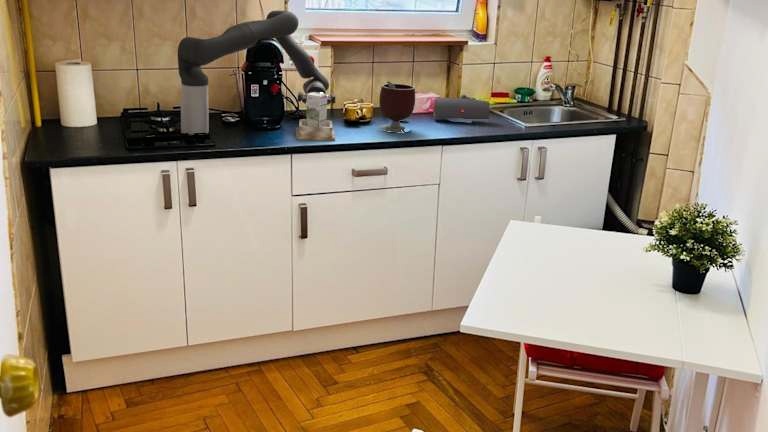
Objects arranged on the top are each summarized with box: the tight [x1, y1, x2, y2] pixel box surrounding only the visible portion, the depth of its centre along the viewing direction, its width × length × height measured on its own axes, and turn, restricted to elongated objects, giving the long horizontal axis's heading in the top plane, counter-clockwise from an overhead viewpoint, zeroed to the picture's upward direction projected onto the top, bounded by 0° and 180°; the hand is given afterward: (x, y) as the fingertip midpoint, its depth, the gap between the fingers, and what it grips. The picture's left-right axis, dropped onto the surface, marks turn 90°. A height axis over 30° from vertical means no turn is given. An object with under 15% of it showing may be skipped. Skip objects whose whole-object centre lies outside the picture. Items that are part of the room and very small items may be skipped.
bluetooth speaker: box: [433, 97, 491, 120], centre depth 324 cm, size 23×9×10 cm, turn 90°
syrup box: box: [305, 92, 328, 127], centre depth 282 cm, size 6×6×14 cm
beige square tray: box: [295, 118, 336, 141], centre depth 284 cm, size 14×14×4 cm
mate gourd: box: [378, 80, 416, 132], centre depth 299 cm, size 16×14×20 cm
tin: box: [350, 98, 364, 104], centre depth 314 cm, size 15×3×8 cm, turn 168°
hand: (316, 101), depth 285 cm, fingers open, 8 cm apart
